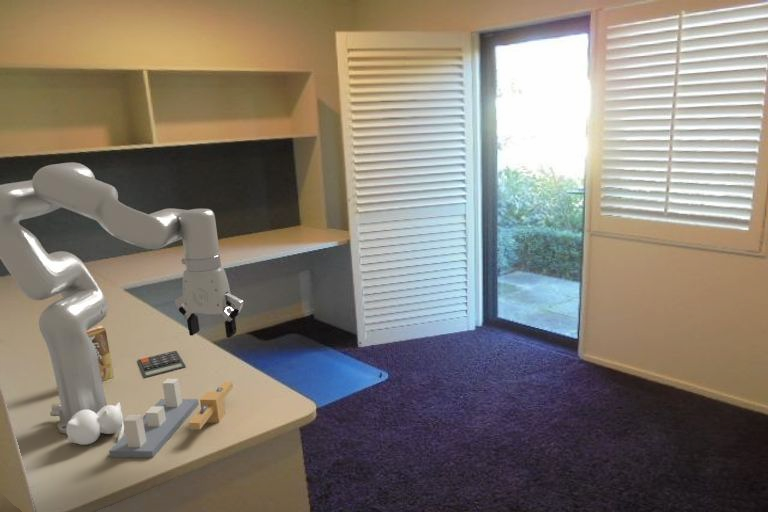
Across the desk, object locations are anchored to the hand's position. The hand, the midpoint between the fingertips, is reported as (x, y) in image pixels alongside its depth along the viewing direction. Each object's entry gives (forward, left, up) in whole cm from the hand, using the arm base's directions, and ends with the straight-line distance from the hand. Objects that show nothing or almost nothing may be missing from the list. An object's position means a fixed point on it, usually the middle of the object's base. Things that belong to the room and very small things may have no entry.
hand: (212, 334), depth 129 cm
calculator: (-33, +31, -23) cm, 51 cm away
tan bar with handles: (-3, 0, -22) cm, 22 cm away
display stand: (-15, -5, -22) cm, 27 cm away
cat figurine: (-26, -9, -22) cm, 36 cm away
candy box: (-47, +20, -22) cm, 56 cm away
